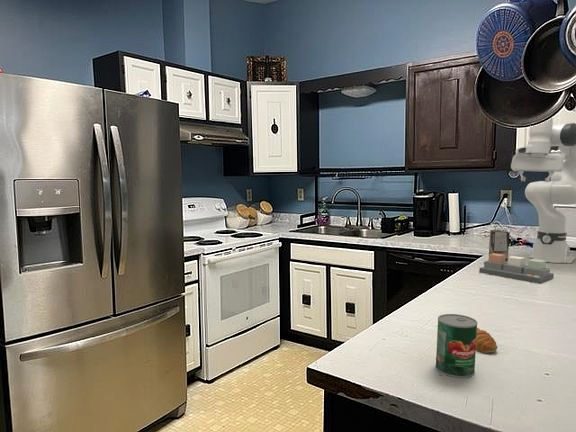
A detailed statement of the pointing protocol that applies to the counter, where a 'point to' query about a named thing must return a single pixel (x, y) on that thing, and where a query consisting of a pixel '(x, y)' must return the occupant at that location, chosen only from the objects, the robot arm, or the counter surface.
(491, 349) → the pastry
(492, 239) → the coffee box
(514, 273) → the keypad base
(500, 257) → the key rust
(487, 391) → the counter surface
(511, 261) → the key cream
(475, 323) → the canned tomato
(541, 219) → the robot arm
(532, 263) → the key sage
